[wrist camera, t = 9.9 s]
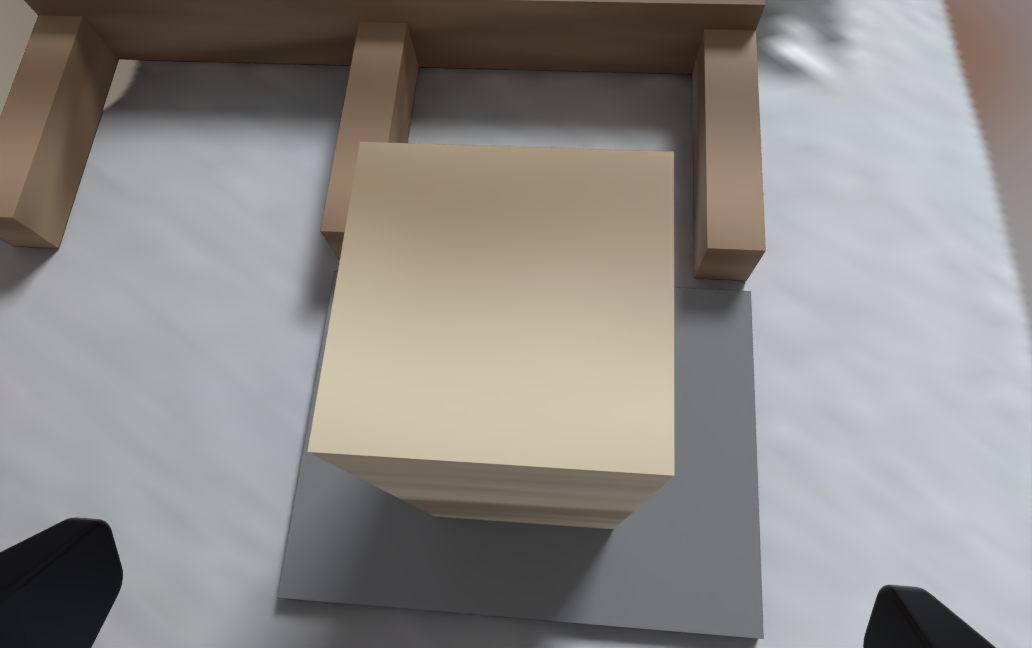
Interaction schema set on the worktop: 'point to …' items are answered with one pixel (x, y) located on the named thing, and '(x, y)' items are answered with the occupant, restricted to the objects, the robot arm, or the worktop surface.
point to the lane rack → (390, 86)
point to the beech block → (504, 332)
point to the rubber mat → (565, 549)
